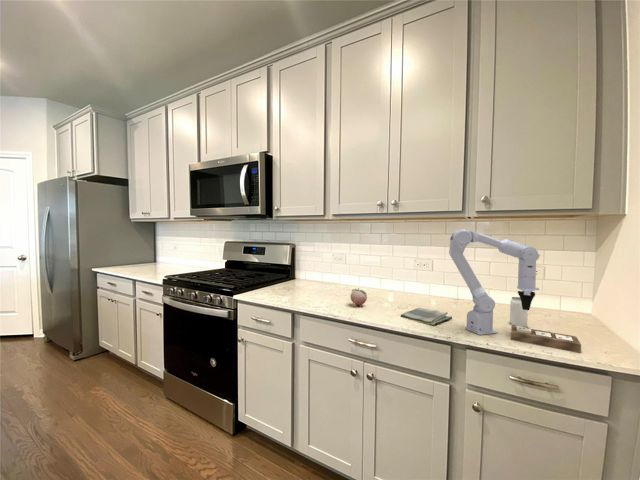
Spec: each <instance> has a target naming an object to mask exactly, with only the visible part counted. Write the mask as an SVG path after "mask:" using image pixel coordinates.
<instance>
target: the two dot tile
mask: <svg viewBox="0 0 640 480" xmlns="http://www.w3.org/2000/svg"><path fill="white" fill-rule="evenodd" d="M555 338H556V339H562V340H568V341H573V339H572V337H569V336H563V335H557V334H555Z"/></svg>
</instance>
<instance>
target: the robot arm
mask: <svg viewBox="0 0 640 480" xmlns="http://www.w3.org/2000/svg"><path fill="white" fill-rule="evenodd" d="M470 243H482V244H485V245H488V246H492V247H493V248H496V249H498V251H499V253H502V254H505V255H508V256H511V257H513V258H517V259H518V272H517V273H518V274H517V287H516V289H518V290H517V294H518V296H519V297H520V299H521V304H522V309H523V310H528V311H530V308H531V305H532V301H533V300H534V297H536V292H535V291H540V287H536V280H537V279H536V278H537V261H538V260H539V258H540V256H541V255H540V253H539V251H538V250H537V248H535V247H532V246H527V245H526V243H519V242H516V241H514V239H513V238H508V239H506V238H504V239H502V240H500V239H497V238H495V237H491V236H488V235H486V234H483V233H482V232H477V231H472V230H467V229H456V230H454V231H453V233H451V236H450V237H449V247H448V248H449V250H448V254H449V256H450V258H451V259H452V262H453V263H454V265H455V266H456V268H457V269H458V271H459V273H460V275H461V277H462V279H463V280H464V282H465V284H466V286H467V288H468V289H469V291H470V293H471V295H472V301H473V303H474V306H473V308H472V309H471V310H469V311H468V312H467V314H466V327H465V329H466V330H468V331H470V332H472V333H475V334H477V335H480V336H481V335H492V334H498V333H499V331H497V330H494V327H493V324H494V309H495V307H496V302H495V300H494V299H493V298H492V297H490V296H489V295H488V293H487V291H486V290H485V289H484V287H483V286H482V284H481V283H480V281H479V279H478V278H477V276H476V274H475V272H474V270H473V269H472V267H471V265H470V264H469V262H468V260H467V258H466V257H465V255H464V251H466V247H467V246H468V245H469V244H470Z"/></svg>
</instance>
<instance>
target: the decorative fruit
mask: <svg viewBox="0 0 640 480" xmlns="http://www.w3.org/2000/svg"><path fill="white" fill-rule="evenodd" d="M350 300H351V302H352V303H353V304H355V305H356V306H358V307H359V306H362V305H364V304H365V303H366V302H367V300H368V294H367V292H366V291H365V290H363V289H360V288H359V287H358V288H355V289H354V288H353V289H351V293H350Z"/></svg>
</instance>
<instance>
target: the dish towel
mask: <svg viewBox="0 0 640 480" xmlns="http://www.w3.org/2000/svg"><path fill="white" fill-rule="evenodd" d="M400 318H403V319H408V320H409V321H414V322H417V323H420V324H424V325H428V326H431V327H435V326H437V325H441V324H443V323H446V322H449V321H451V320H453V316H452V315H451V316H450V315H448V311H442V310H441V311H440V310H435V309H431V308H430V309H429V308H424V307H417V308H414V309H411V310H408V311H406V312H404V313H402V314H400Z"/></svg>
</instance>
